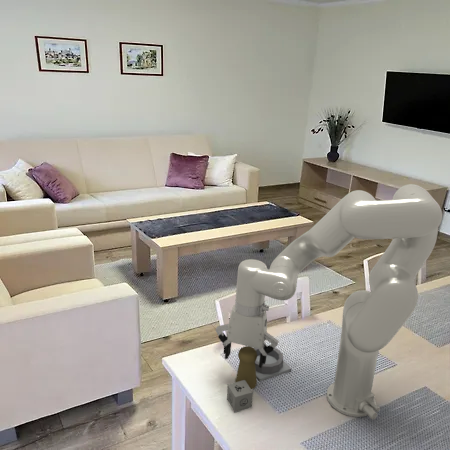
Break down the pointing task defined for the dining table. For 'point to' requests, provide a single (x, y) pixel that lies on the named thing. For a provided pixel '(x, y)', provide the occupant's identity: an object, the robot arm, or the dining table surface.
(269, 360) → the ring board
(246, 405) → the dice cube
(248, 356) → the brown round-headed peg
